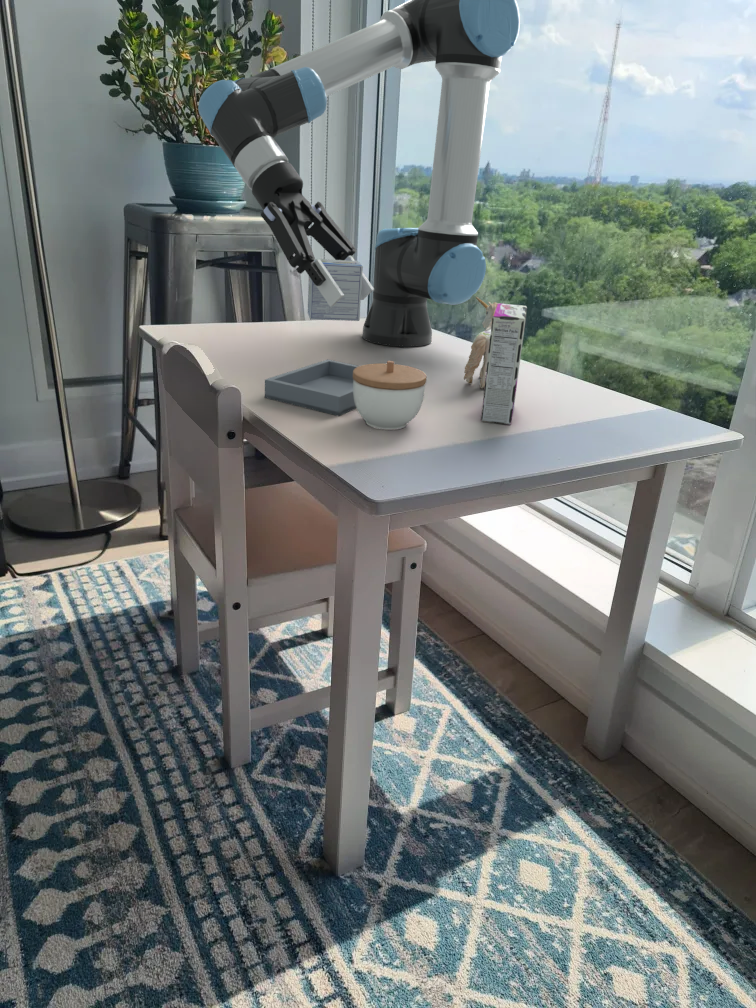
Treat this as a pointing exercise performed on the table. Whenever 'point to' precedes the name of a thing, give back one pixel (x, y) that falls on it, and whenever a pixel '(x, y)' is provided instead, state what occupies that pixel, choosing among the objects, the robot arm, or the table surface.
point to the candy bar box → (503, 363)
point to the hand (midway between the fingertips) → (352, 297)
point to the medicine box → (350, 285)
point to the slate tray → (315, 387)
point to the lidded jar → (388, 394)
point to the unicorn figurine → (480, 347)
